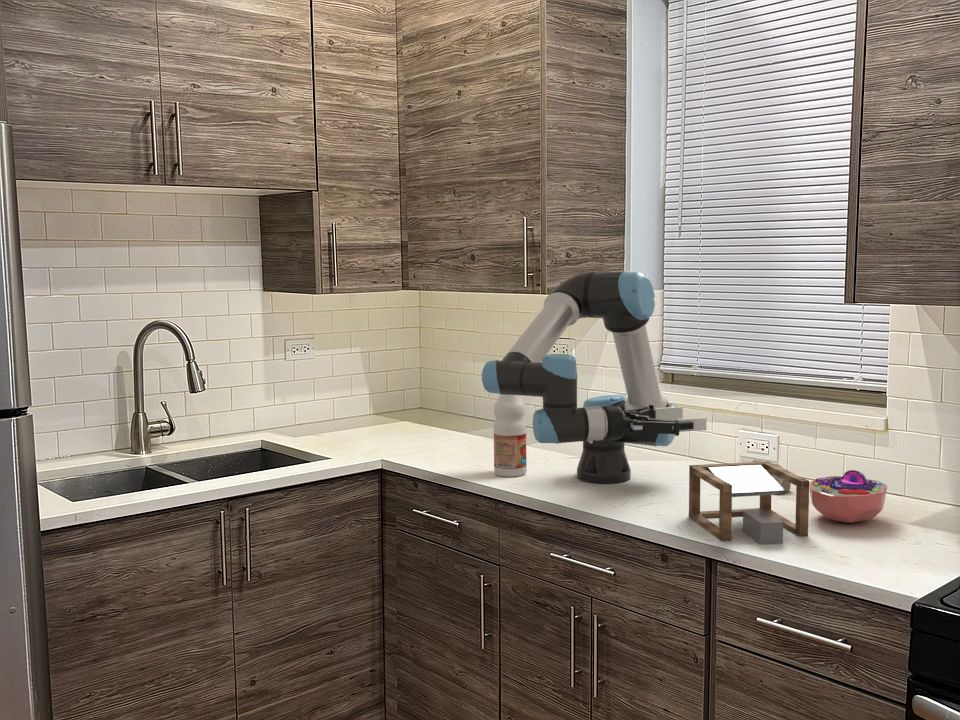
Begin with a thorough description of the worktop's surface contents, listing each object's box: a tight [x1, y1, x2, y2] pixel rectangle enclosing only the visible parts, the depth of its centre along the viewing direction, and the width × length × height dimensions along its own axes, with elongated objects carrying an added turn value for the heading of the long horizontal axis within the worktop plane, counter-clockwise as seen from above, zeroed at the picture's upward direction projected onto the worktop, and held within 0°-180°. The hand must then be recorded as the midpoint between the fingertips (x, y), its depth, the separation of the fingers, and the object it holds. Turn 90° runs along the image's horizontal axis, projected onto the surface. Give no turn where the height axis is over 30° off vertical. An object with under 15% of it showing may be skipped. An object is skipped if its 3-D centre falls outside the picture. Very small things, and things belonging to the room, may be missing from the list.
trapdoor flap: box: [705, 465, 786, 498], centre depth 215 cm, size 14×14×1 cm
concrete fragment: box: [751, 459, 792, 493], centre depth 250 cm, size 8×16×7 cm, turn 13°
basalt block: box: [742, 510, 784, 546], centre depth 206 cm, size 5×5×10 cm
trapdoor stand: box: [688, 460, 810, 542], centre depth 215 cm, size 20×20×12 cm
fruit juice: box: [493, 394, 527, 478], centre depth 268 cm, size 9×9×28 cm
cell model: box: [809, 469, 888, 524], centre depth 219 cm, size 17×20×11 cm
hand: (693, 418), depth 210 cm, fingers open, 13 cm apart
